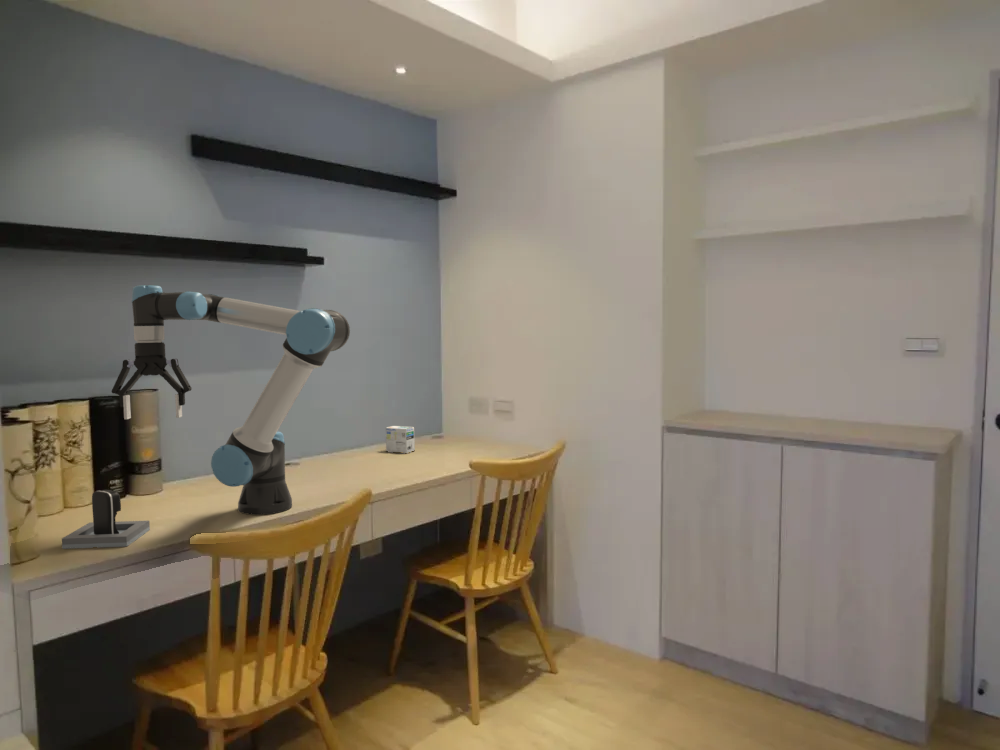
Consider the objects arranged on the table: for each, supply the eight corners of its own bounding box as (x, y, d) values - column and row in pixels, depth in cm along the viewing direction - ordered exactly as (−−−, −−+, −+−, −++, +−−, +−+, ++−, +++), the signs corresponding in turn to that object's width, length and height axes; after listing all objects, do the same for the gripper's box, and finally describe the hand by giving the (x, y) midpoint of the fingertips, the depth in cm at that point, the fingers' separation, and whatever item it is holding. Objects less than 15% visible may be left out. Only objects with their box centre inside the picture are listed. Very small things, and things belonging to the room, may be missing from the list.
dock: (149, 529, 184) (149, 520, 184) (126, 546, 170) (126, 536, 170) (90, 531, 182) (89, 522, 182) (62, 548, 169) (61, 538, 168)
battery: (124, 534, 176) (122, 490, 176) (110, 538, 173) (108, 493, 172) (107, 531, 180) (105, 487, 179) (92, 535, 176) (90, 490, 175)
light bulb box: (415, 451, 298) (414, 426, 298) (407, 454, 292) (406, 428, 291) (394, 449, 303) (393, 425, 302) (385, 452, 296) (385, 427, 296)
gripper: (200, 340, 197) (204, 414, 199) (107, 342, 194) (111, 417, 196) (192, 341, 190) (196, 418, 192) (95, 342, 187) (99, 421, 188)
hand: (153, 418), depth 194 cm, fingers open, 13 cm apart
